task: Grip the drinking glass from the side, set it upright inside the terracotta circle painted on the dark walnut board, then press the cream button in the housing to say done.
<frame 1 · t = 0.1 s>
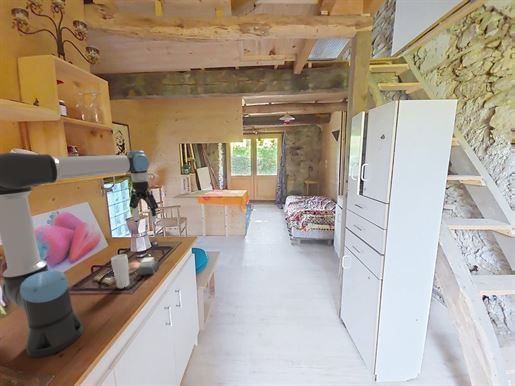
hand: (145, 221, 128), 28 cm above the counter, tool pointing down, fingers open, 13 cm apart
drinking glass: (123, 286, 118), on the counter
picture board: (122, 272, 131), on the counter
done button: (147, 263, 130), point 5 cm above the counter, slide at 0.0 cm
button housing: (148, 271, 131), on the counter
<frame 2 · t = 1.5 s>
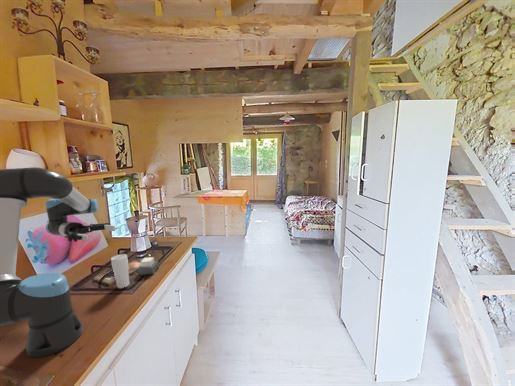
hand: (101, 232, 116), 26 cm above the counter, tool horizontal, fingers open, 13 cm apart
nothing on the counter moved.
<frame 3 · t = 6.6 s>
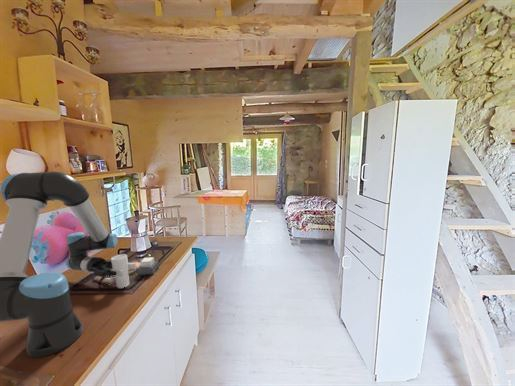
hand: (128, 269, 114), 9 cm above the counter, tool horizontal, fingers closed on drinking glass, 6 cm apart
drinking glass: (123, 286, 118), on the counter, touching gripper
everything else where it was.
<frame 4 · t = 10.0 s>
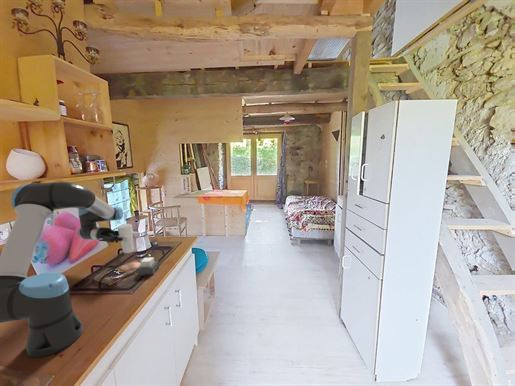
hand: (133, 236, 130), 19 cm above the counter, tool horizontal, fingers closed on drinking glass, 6 cm apart
drinking glass: (128, 252, 133), point 10 cm above the counter, touching gripper
everything else where it was.
when the fingers open (11 cm above the counter, at t = 13.6 s): drinking glass stays where it is, resting on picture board.
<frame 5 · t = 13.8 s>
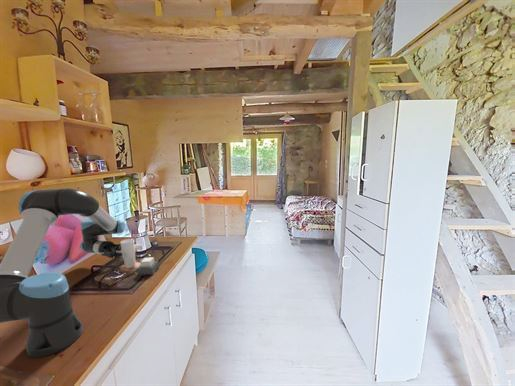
hand: (134, 251, 132), 11 cm above the counter, tool horizontal, fingers open, 9 cm apart
drinking glass: (130, 266, 135), point 1 cm above the counter, touching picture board
everything else where it was.
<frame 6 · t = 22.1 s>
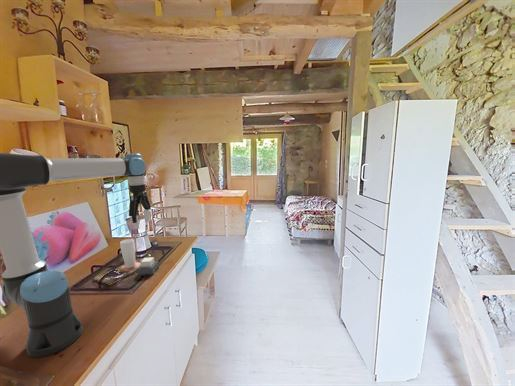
hand: (142, 224, 127), 26 cm above the counter, tool pointing down, fingers open, 12 cm apart
nothing on the counter moved.
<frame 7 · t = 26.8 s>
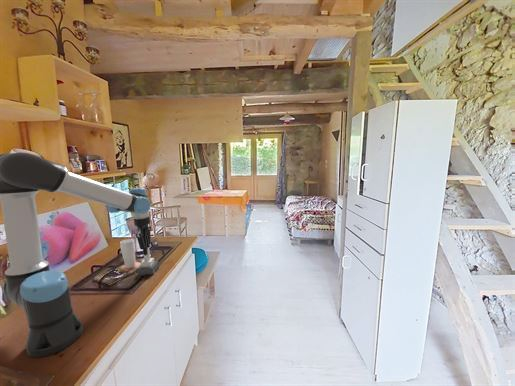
hand: (147, 259, 130), 7 cm above the counter, tool pointing down, fingers closed
done button: (147, 264, 130), point 4 cm above the counter, slide at 0.4 cm, touching gripper
everything else where it was.
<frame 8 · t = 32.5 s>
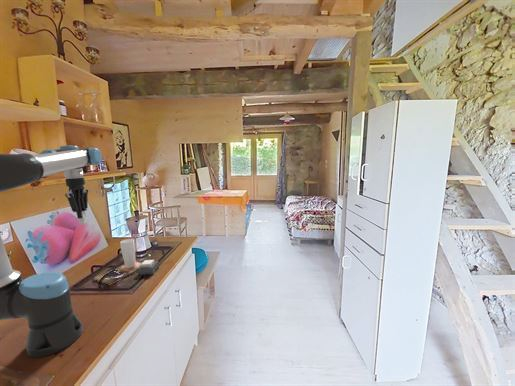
hand: (82, 223, 122), 29 cm above the counter, tool pointing down, fingers closed
done button: (148, 265, 130), point 3 cm above the counter, slide at 1.4 cm
everything else where it was.
at the end: drinking glass 0.0 cm from the target spot, point 1.2 cm above the counter; drinking glass tilted 0°; done button slide at 1.4 cm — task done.
